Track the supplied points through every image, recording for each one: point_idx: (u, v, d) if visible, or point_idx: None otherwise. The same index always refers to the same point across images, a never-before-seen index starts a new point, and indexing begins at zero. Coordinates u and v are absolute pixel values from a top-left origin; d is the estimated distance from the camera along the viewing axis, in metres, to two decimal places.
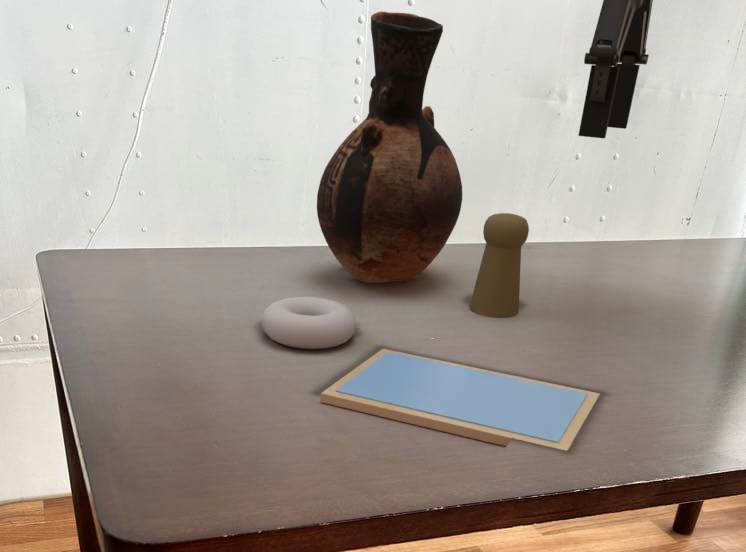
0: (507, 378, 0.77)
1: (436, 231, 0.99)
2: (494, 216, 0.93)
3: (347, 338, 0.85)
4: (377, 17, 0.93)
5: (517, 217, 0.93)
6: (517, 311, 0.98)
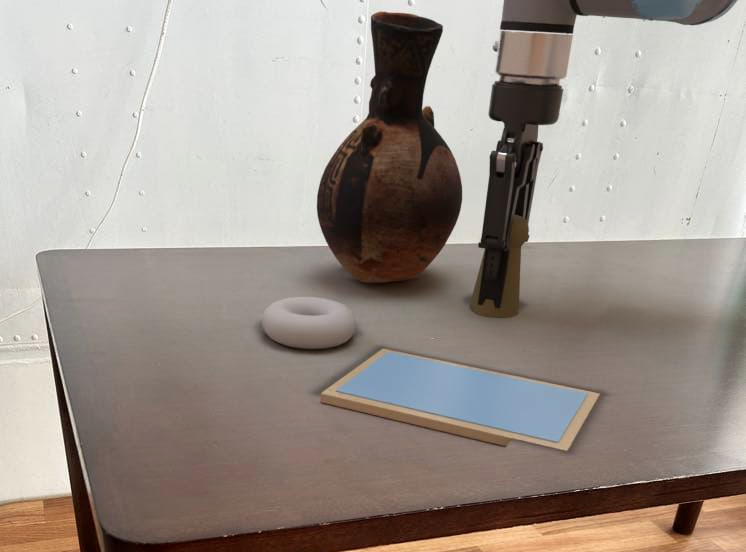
0: (507, 378, 0.77)
1: (436, 231, 0.99)
2: None
3: (347, 338, 0.85)
4: (377, 17, 0.93)
5: (517, 217, 0.93)
6: (517, 311, 0.98)
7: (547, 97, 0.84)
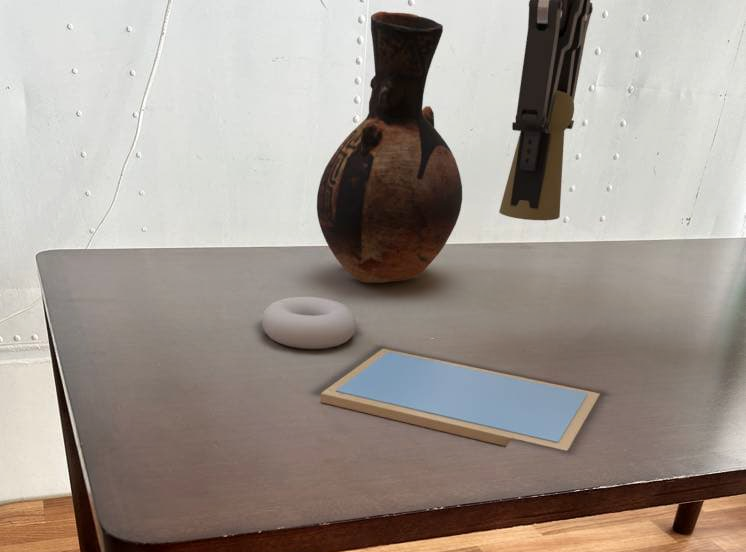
0: (507, 378, 0.77)
1: (436, 231, 0.99)
2: None
3: (347, 338, 0.85)
4: (377, 17, 0.93)
5: (560, 92, 0.76)
6: (558, 214, 0.81)
7: None
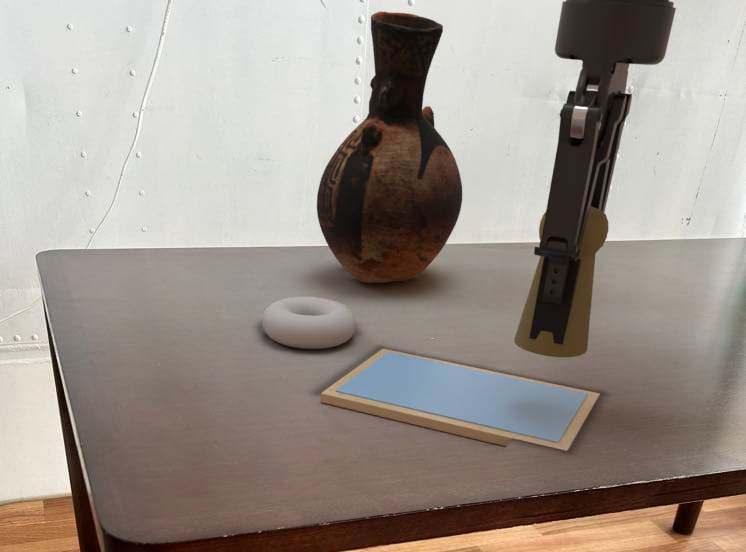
0: (507, 378, 0.77)
1: (436, 231, 0.99)
2: None
3: (347, 338, 0.85)
4: (377, 17, 0.93)
5: (592, 209, 0.62)
6: (586, 348, 0.67)
7: (654, 17, 0.53)
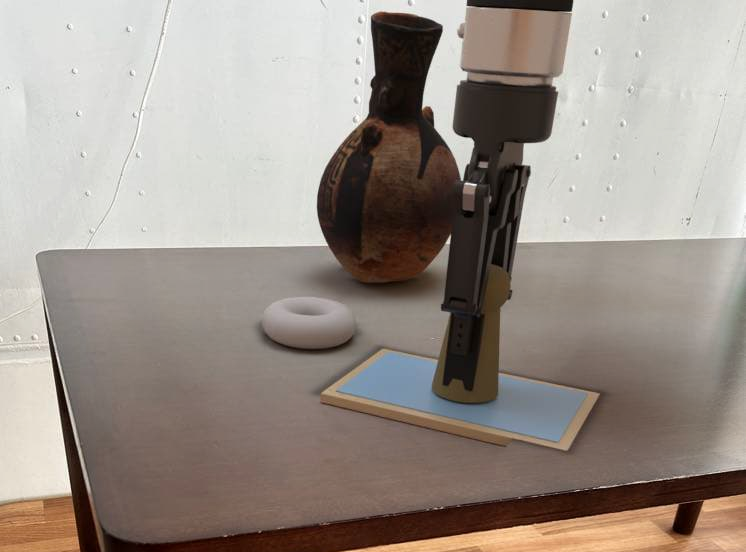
0: (507, 378, 0.77)
1: (436, 231, 0.99)
2: None
3: (347, 338, 0.85)
4: (377, 17, 0.93)
5: (494, 269, 0.67)
6: (496, 393, 0.72)
7: (535, 103, 0.58)
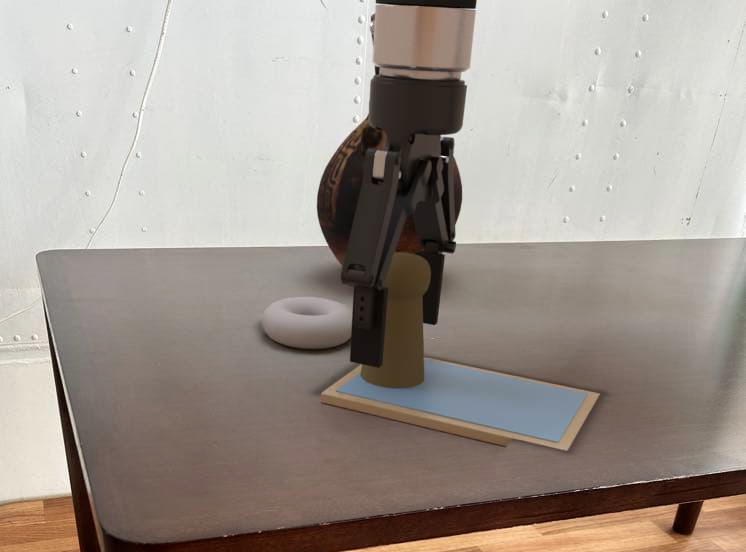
0: (507, 378, 0.77)
1: None
2: None
3: (347, 338, 0.85)
4: None
5: (414, 259, 0.70)
6: (421, 379, 0.75)
7: (442, 96, 0.61)
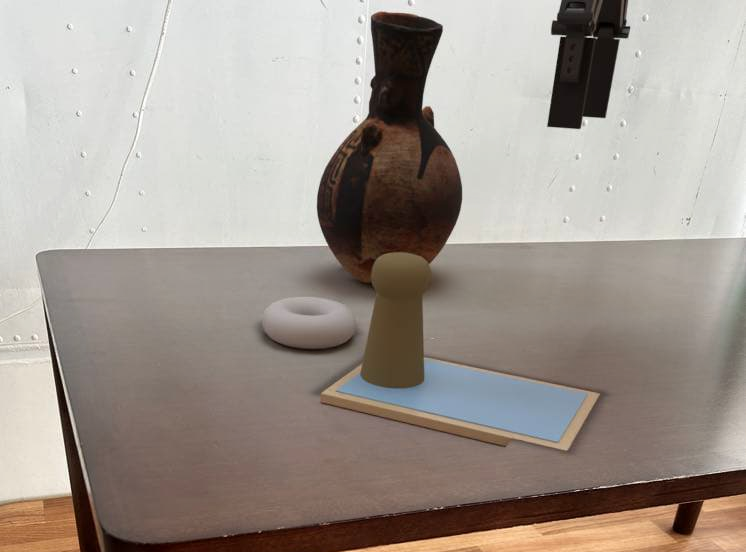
0: (507, 378, 0.77)
1: (436, 231, 0.99)
2: (384, 257, 0.70)
3: (347, 338, 0.85)
4: (377, 17, 0.93)
5: (414, 259, 0.70)
6: (421, 379, 0.75)
7: None
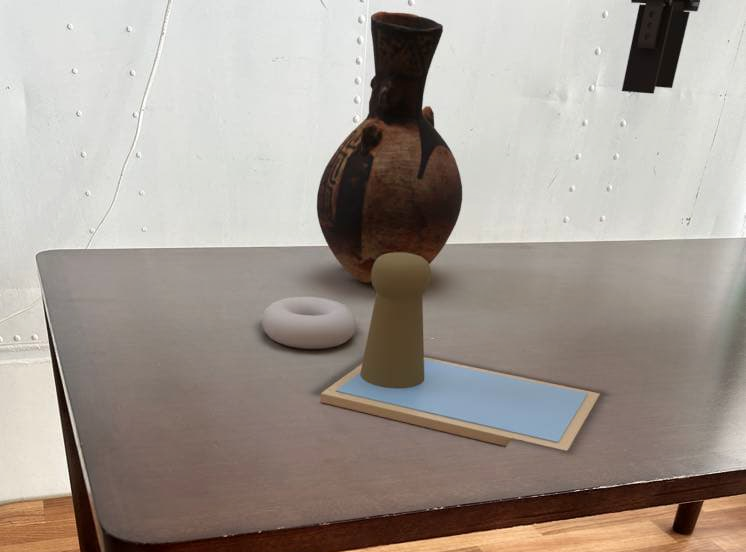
0: (507, 378, 0.77)
1: (436, 231, 0.99)
2: (384, 257, 0.70)
3: (347, 338, 0.85)
4: (377, 17, 0.93)
5: (414, 258, 0.70)
6: (421, 379, 0.75)
7: None
